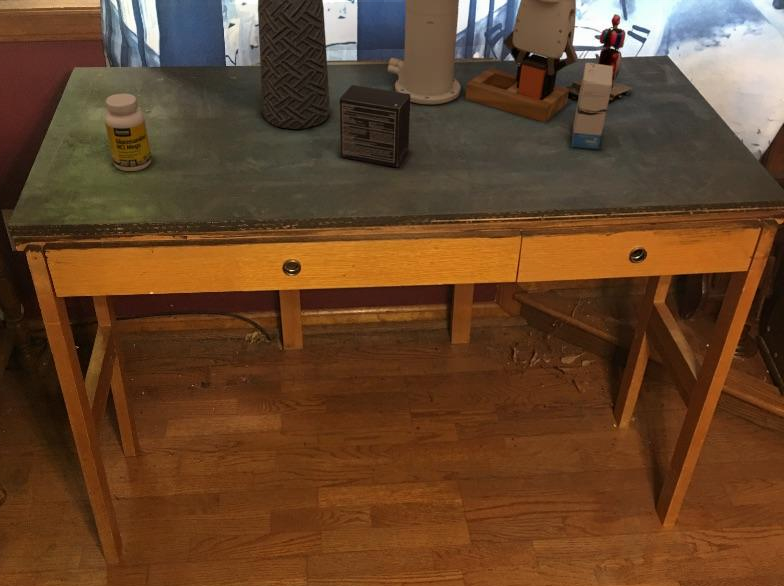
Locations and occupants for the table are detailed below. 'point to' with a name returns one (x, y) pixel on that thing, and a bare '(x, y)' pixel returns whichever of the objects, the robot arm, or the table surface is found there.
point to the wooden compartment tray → (514, 95)
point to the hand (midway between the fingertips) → (534, 88)
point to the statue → (608, 58)
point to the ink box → (592, 106)
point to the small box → (374, 125)
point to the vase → (293, 62)
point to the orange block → (533, 76)
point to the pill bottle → (127, 133)
